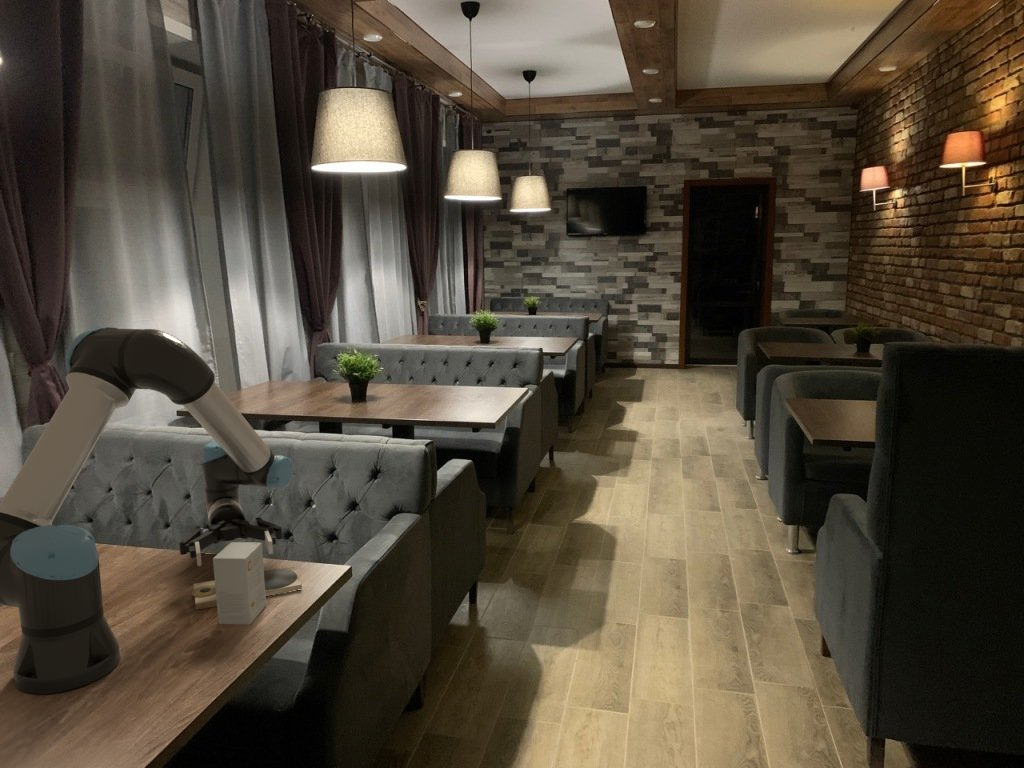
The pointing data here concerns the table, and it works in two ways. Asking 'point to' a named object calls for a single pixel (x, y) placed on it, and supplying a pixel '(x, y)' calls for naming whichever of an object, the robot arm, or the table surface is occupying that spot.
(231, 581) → the small box
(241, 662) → the table surface
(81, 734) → the table surface
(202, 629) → the table surface
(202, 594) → the board
